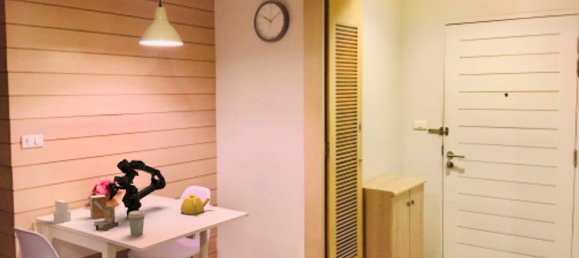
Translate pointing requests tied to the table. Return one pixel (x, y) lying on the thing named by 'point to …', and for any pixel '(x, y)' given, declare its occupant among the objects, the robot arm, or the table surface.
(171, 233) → the table surface
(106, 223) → the offcut stack
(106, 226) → the steel rack
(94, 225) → the slate mat
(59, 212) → the cylinder with rectangular tab
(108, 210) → the tan flared column
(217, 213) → the table surface
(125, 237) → the table surface
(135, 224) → the coffee cup
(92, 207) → the small box
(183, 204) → the teapot
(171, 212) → the table surface
